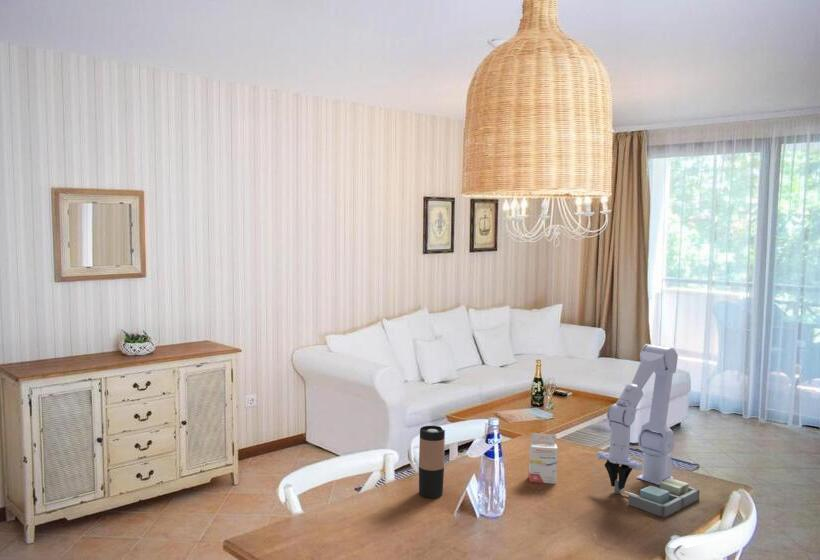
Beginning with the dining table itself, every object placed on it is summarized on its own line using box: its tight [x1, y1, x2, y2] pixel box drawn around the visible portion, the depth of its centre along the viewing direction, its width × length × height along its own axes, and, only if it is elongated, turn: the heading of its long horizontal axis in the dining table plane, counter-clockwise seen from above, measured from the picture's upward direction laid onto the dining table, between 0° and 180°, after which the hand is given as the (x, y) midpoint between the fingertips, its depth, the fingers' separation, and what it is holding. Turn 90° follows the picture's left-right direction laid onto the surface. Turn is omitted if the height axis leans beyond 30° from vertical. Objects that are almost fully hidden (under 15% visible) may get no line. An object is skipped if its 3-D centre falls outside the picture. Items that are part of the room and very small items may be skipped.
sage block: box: [659, 478, 690, 496], centre depth 201 cm, size 6×6×5 cm
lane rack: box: [628, 479, 700, 518], centre depth 198 cm, size 21×11×3 cm, turn 131°
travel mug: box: [418, 425, 446, 499], centre depth 200 cm, size 8×8×20 cm
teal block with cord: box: [613, 478, 669, 505], centre depth 199 cm, size 6×16×4 cm, turn 41°
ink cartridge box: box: [528, 432, 559, 485], centre depth 213 cm, size 9×5×15 cm, turn 84°
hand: (617, 486), depth 205 cm, fingers closed on teal block with cord, 2 cm apart
